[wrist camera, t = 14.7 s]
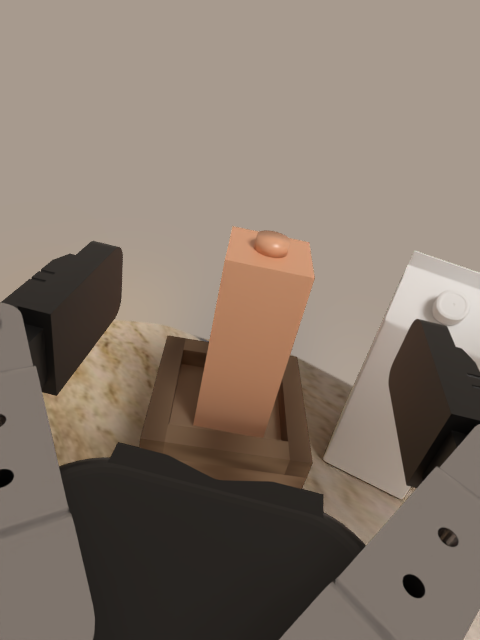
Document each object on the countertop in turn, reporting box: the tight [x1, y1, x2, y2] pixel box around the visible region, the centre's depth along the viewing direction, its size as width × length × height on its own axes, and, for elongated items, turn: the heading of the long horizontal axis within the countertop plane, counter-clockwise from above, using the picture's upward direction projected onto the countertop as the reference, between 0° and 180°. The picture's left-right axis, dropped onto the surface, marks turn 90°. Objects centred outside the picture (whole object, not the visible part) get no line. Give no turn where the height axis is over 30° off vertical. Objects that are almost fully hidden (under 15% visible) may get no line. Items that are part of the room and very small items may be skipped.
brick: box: [193, 226, 315, 438], centre depth 30 cm, size 5×5×14 cm
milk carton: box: [323, 251, 480, 499], centre depth 35 cm, size 7×7×19 cm
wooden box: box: [139, 336, 313, 489], centre depth 35 cm, size 11×11×8 cm
